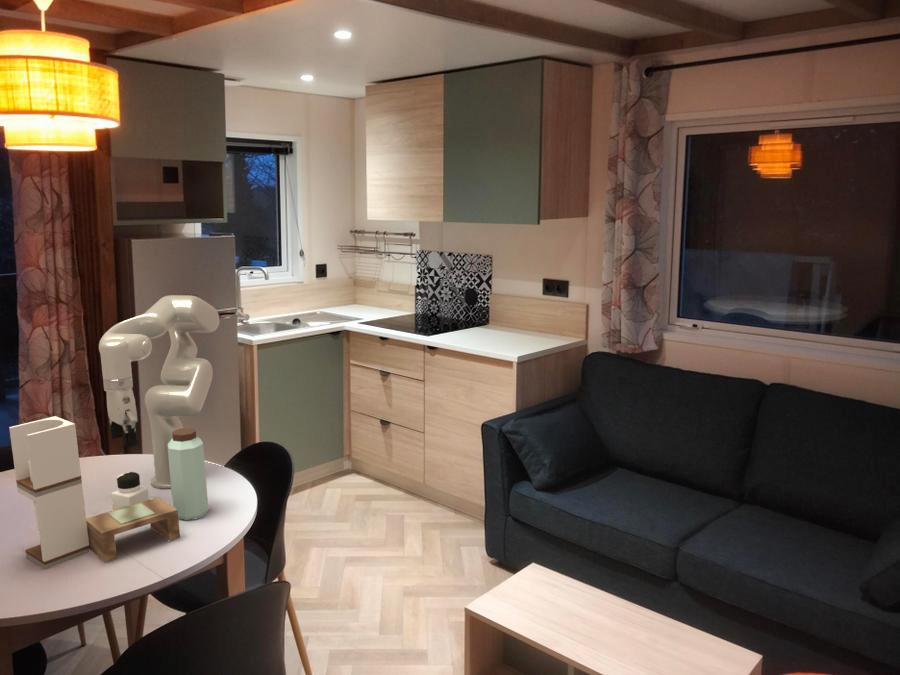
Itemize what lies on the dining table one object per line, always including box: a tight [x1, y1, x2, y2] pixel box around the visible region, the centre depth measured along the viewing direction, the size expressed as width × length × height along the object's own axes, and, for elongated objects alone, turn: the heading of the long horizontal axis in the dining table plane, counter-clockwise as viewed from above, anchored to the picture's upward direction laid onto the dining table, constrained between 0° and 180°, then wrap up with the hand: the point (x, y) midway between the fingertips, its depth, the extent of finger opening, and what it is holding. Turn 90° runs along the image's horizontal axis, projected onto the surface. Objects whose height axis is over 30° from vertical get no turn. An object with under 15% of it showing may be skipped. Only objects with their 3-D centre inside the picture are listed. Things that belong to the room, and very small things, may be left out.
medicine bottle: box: [110, 471, 150, 511], centre depth 230 cm, size 7×7×12 cm
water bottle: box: [167, 427, 209, 521], centre depth 227 cm, size 10×10×25 cm
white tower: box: [8, 415, 91, 570], centre depth 203 cm, size 11×11×35 cm
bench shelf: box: [86, 496, 181, 563], centre depth 212 cm, size 20×12×8 cm, turn 133°
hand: (124, 441), depth 226 cm, fingers open, 9 cm apart
